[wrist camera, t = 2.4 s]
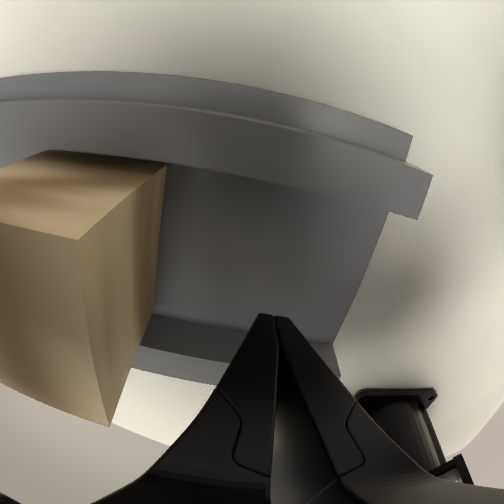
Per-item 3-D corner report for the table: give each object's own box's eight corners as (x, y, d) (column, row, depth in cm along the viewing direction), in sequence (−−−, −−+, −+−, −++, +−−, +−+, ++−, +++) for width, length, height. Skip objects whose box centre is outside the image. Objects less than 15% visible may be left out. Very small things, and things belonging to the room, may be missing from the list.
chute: (401, 132, 10) (445, 146, 7) (312, 364, 16) (320, 412, 13) (-30, 84, 8) (-74, 92, 6) (-14, 286, 14) (-42, 316, 11)
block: (167, 163, 10) (78, 239, 5) (154, 307, 13) (109, 427, 7) (48, 149, 9) (-72, 204, 4) (55, 282, 12) (-16, 373, 7)
